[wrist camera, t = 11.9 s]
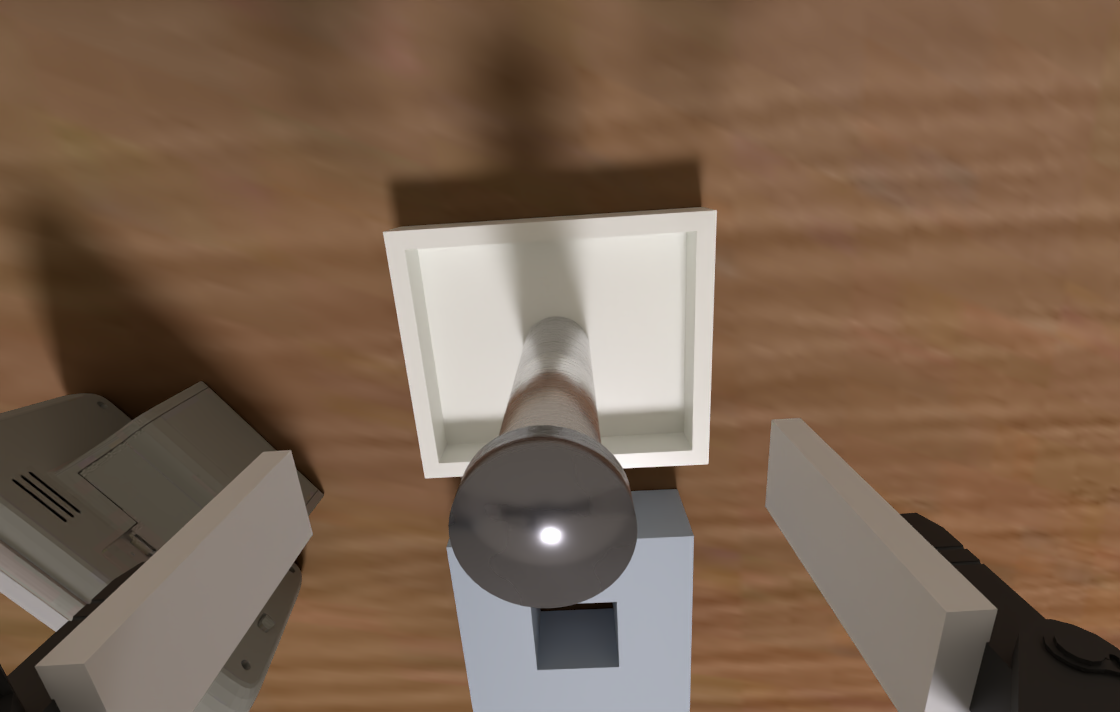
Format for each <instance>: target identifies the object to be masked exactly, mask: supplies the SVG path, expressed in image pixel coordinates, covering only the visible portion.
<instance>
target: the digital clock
mask: <svg viewBox="0 0 1120 712" xmlns="http://www.w3.org/2000/svg"><path fill="white" fill-rule="evenodd" d="M268 451H277V450H275V449H274V448H273V447H272V446H271V445H270V444H269V443H268V442H267V441H266V440H265V439H264V438H263V437H262V436H261V435H259V434H258V433H257V432H256V431H255V430H254V429H253V428H252V427H251V426H250V425H249V424H248V423H247V422H246V421H244V420H243V419H242V418H241V417H240V416H239V415H238V414H237V413H236V412H235V411H234V410H233V409H232V408H231V407H230V406H228V405H227V404H226V403H225V402H224V401H223V400H222V399H221V398H220V397H219V396H218V395H217V394H216V393H215V392H213V391H212V390H211V389H210V388H208V386H207V385H206V384H205V383H204V382H202V381H200V382H198V383H196V384H194V385H193V386H191V387H189V388H187V389H185V390H184V391H182V392H180V393H178V394H176V395H175V396H173V397H171V398H169V399H167V400H166V401H164V402H162V403H160V404H158V405H157V406H155V407H153V408H151V409H150V410H148V411H146V412H144V413H143V414H141V415H139V416H138V417H136V418H135V419H133V420H131V419H130V418H129V417H128V416H126V415H125V414H124V413H123V412H122V411H121V410H119V409H118V408H117V407H116V406H115V405H113V404H112V403H111V402H110V401H108V400H107V399H105V398H104V397H102V396H100V395H96V394H87V393H80V394H72V395H66V396H62V397H58V398H55V399H51V400H47V401H44V402H40V403H36V404H33V405H29V406H26V407H22V408H18V409H15V410H11V411H7V412H4V413H0V592H1V593H2V594H4V595H5V596H7V597H8V598H9V599H11V600H12V601H14V602H15V603H16V604H18V605H19V606H21V607H22V608H23V609H25V610H26V611H28V612H29V613H30V614H32V615H33V616H34V617H36V618H37V619H39V620H40V621H41V622H43V623H44V624H46V625H47V626H48V627H50V628H51V629H53V630H54V631H55V632H57V631H58V630H59V629H60V628H61V627H62V626H63V625H64V624H65V623H66V622H67V621H72V619H73V616H74V615H75V614H76V613H77V612H78V611H80V610H81V609H82V608H83V607H84V606H85V605H86V604H90V603H91V600H92V599H93V598H94V597H95V596H96V595H97V594H98V593H99V592H100V591H102V590H103V589H104V588H105V587H106V586H107V585H108V584H109V583H110V582H111V581H113V580H114V579H115V578H117V577H119V576H120V575H122V574H123V573H125V572H127V571H128V570H130V569H131V568H133V567H134V566H136V565H138V564H139V563H141V562H146V561H147V560H149V559H150V558H151V557H152V556H153V555H154V554H155V553H156V552H157V551H158V550H159V549H160V548H161V547H162V546H163V545H165V544H166V543H167V542H168V541H169V540H170V539H171V538H172V537H173V536H174V535H175V534H176V533H177V532H178V531H179V530H180V529H182V528H183V527H184V526H185V525H186V524H187V523H188V522H189V521H190V520H191V519H192V518H193V517H194V516H195V515H196V514H198V513H199V512H200V511H201V510H202V509H203V508H204V507H205V506H206V505H207V504H208V503H209V502H210V501H211V500H212V499H214V498H215V497H216V496H217V495H218V494H219V493H220V492H221V491H222V490H223V489H224V488H225V487H226V486H227V485H228V484H229V483H231V482H232V481H233V480H234V479H235V478H236V477H237V476H238V475H239V474H240V473H241V472H242V471H243V470H244V469H245V468H247V467H248V466H249V465H250V464H251V463H252V462H253V461H254V460H255V459H256V458H257V457H258V456H259V455H260V454H261V453H263V452H268ZM296 471H297V475H298V479H299V483H300V487H301V490H302V494H303V498H304V502H305V506H306V510H307V514H308V516H309V515H310V513H311V512H312V511H313V509H314V508H315V507H316V505H317V504H318V503H319V501H320V500H321V499H322V498H323V496H324V495H323V494H322V493H321V492H320V491H319V490H318V489H317V488H316V487H315V486H314V485H313V484H312V483H311V482H310V481H309V480H308V479H306V478H305V477H304V476H303V475H302V474H301V473H300V472H299V471H298V470H297V469H296ZM301 581H302V574H301V571H300V569H299V567H298V566H297V565H296V564H295V563H293V564H292V566H291V567H290V569H289V570H288V572H287V573H286V575H285V576H284V578H283V579H282V580H281V582H280V583H279V585H278V586H277V588H276V589H275V591H274V592H273V594H272V595H271V597H270V598H269V600H268V601H267V603H266V604H265V606H264V607H263V608H262V610H261V611H260V613H259V614H258V616H257V617H256V619H255V620H254V622H253V623H252V625H251V626H250V628H249V629H248V631H247V632H246V634H245V635H244V637H243V638H242V639H241V641H240V642H239V644H238V645H237V647H236V648H235V650H234V651H233V653H232V654H231V656H230V657H229V659H228V660H227V662H226V663H225V665H224V666H223V667H222V669H221V670H220V672H219V673H218V675H217V676H216V678H215V679H214V681H213V682H212V684H211V685H210V687H209V688H208V690H207V691H206V693H205V694H204V696H203V697H202V698H201V700H200V701H199V703H198V704H197V706H196V707H195V709H194V710H193V712H248V711H249V710H250V708H251V706H252V705H253V703H254V701H255V699H256V697H257V695H258V693H259V690H260V688H261V686H262V683H263V681H264V679H265V676H266V674H267V671H268V669H269V666H270V664H271V661H272V659H273V656H274V654H275V651H276V649H277V646H278V644H279V641H280V639H281V636H282V634H283V631H284V629H285V626H286V624H287V621H288V619H289V616H290V614H291V611H292V609H293V606H294V604H295V601H296V599H297V597H298V593H299V590H300V587H301Z"/></svg>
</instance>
